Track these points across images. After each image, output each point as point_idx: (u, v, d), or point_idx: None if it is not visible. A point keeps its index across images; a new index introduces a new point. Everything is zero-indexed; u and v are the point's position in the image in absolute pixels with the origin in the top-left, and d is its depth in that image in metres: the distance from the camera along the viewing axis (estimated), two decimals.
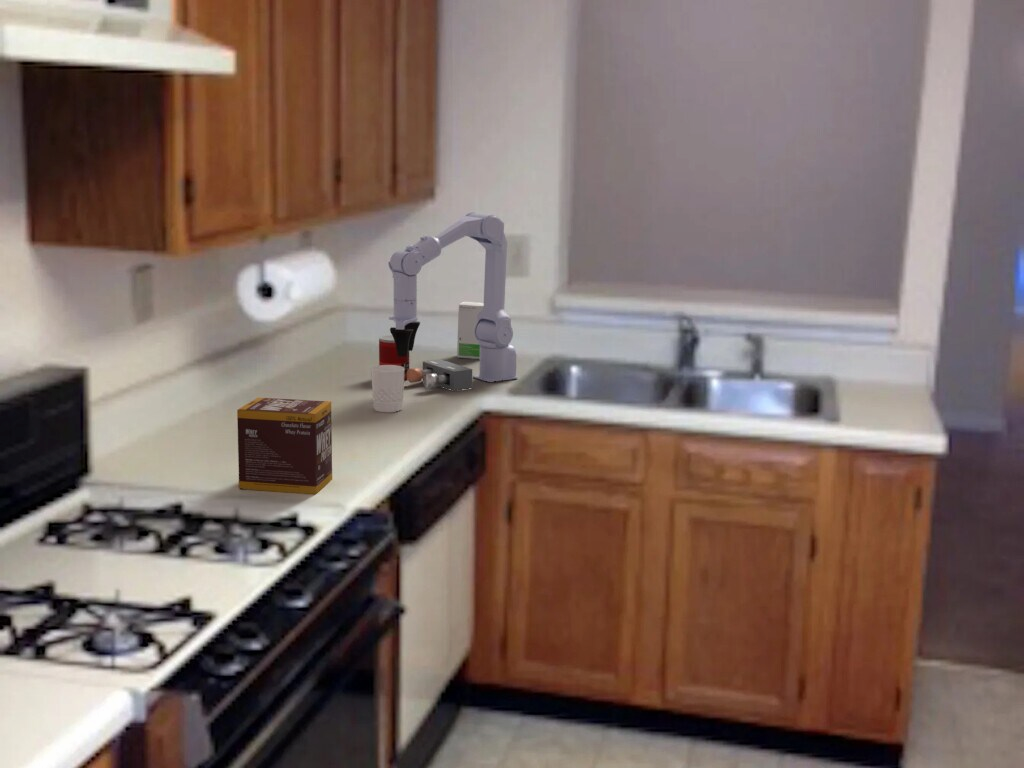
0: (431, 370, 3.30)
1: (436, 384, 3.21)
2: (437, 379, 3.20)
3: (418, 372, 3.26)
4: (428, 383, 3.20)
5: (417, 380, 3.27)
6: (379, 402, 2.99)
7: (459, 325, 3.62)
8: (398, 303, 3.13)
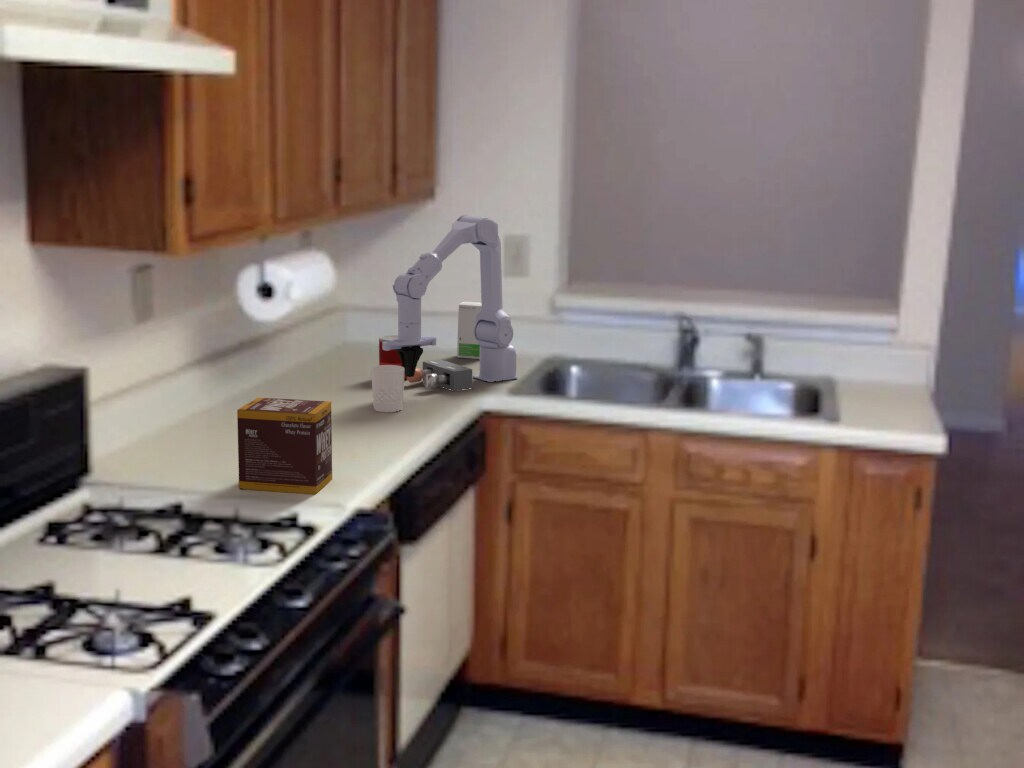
0: (431, 370, 3.30)
1: (436, 384, 3.21)
2: (437, 379, 3.20)
3: (418, 372, 3.26)
4: (428, 383, 3.20)
5: (417, 380, 3.27)
6: (379, 402, 2.99)
7: (459, 325, 3.62)
8: (398, 325, 3.14)
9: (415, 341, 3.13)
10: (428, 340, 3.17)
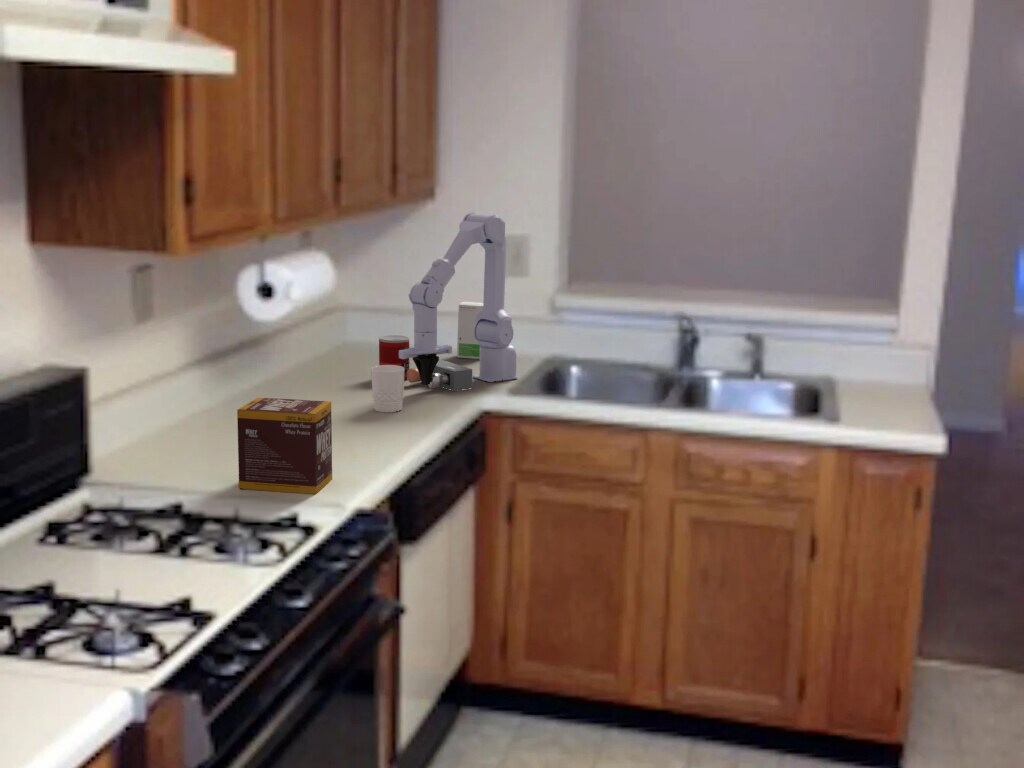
0: None
1: (439, 384, 3.21)
2: (440, 379, 3.21)
3: (418, 372, 3.26)
4: (431, 382, 3.21)
5: (417, 380, 3.27)
6: (379, 402, 2.99)
7: (459, 325, 3.62)
8: (414, 333, 3.17)
9: (431, 349, 3.16)
10: (444, 348, 3.20)
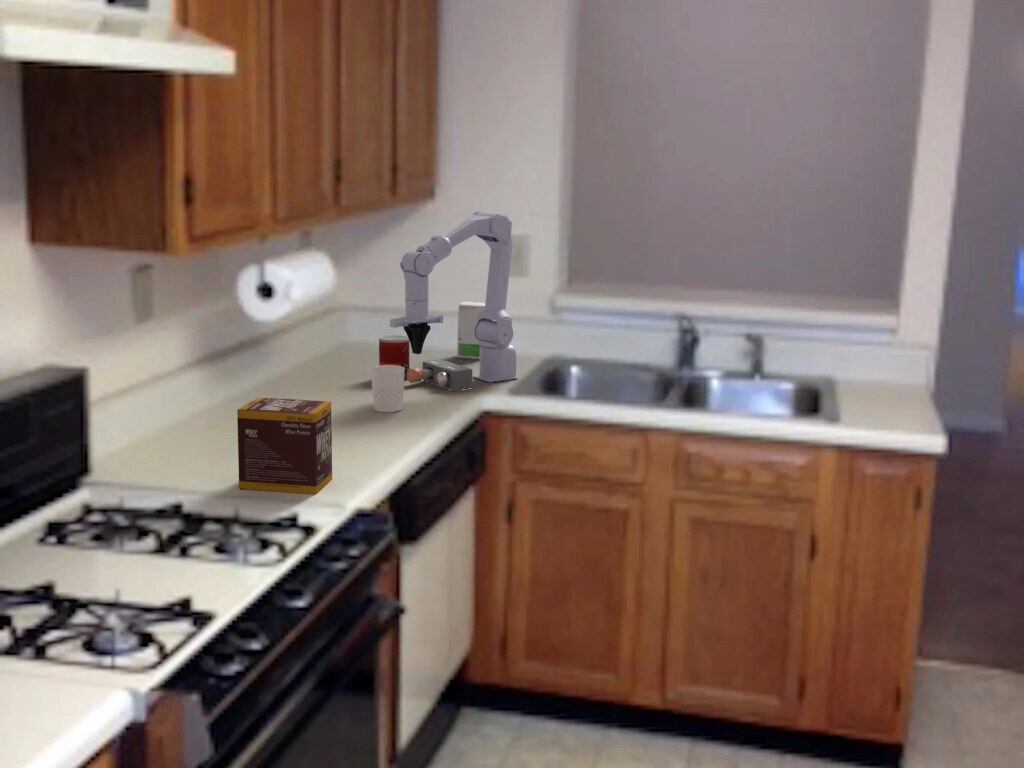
0: (431, 370, 3.30)
1: (448, 382, 3.23)
2: (449, 377, 3.22)
3: (418, 372, 3.26)
4: (439, 381, 3.22)
5: (417, 380, 3.27)
6: (379, 402, 2.99)
7: (459, 325, 3.62)
8: (405, 302, 3.15)
9: (422, 318, 3.14)
10: (435, 317, 3.18)
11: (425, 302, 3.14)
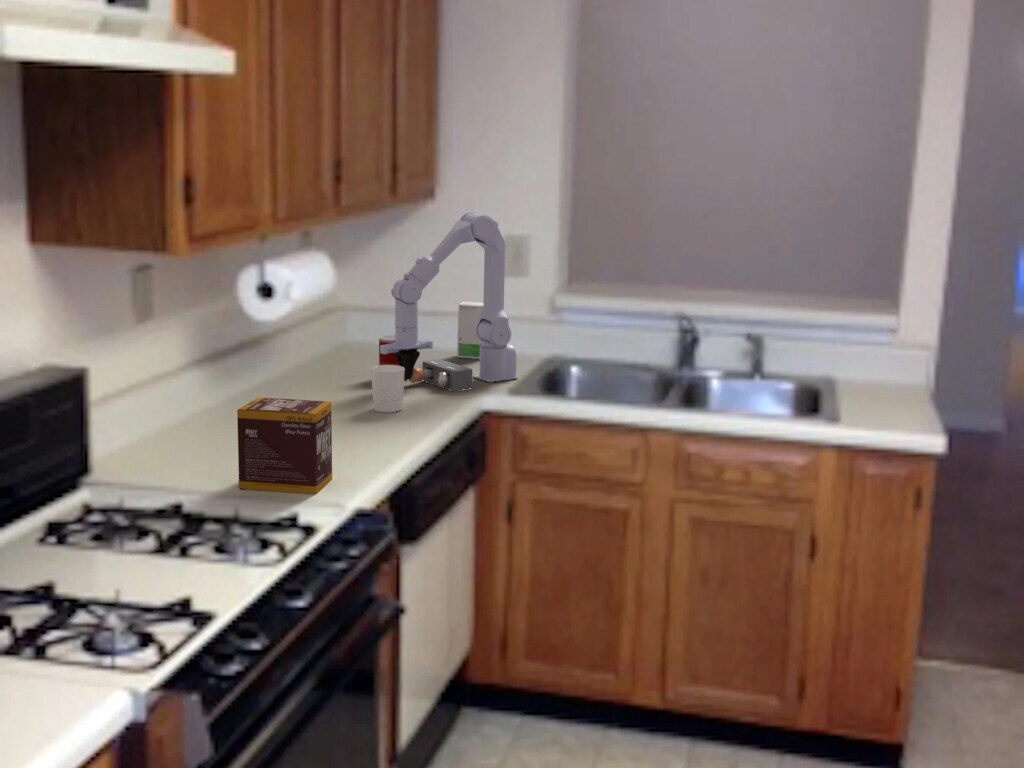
0: (432, 370, 3.30)
1: (448, 382, 3.23)
2: (449, 377, 3.22)
3: (419, 372, 3.27)
4: (439, 381, 3.22)
5: (418, 380, 3.27)
6: (379, 402, 2.99)
7: (459, 325, 3.62)
8: (395, 329, 3.23)
9: (412, 345, 3.22)
10: (425, 343, 3.26)
11: (414, 329, 3.22)
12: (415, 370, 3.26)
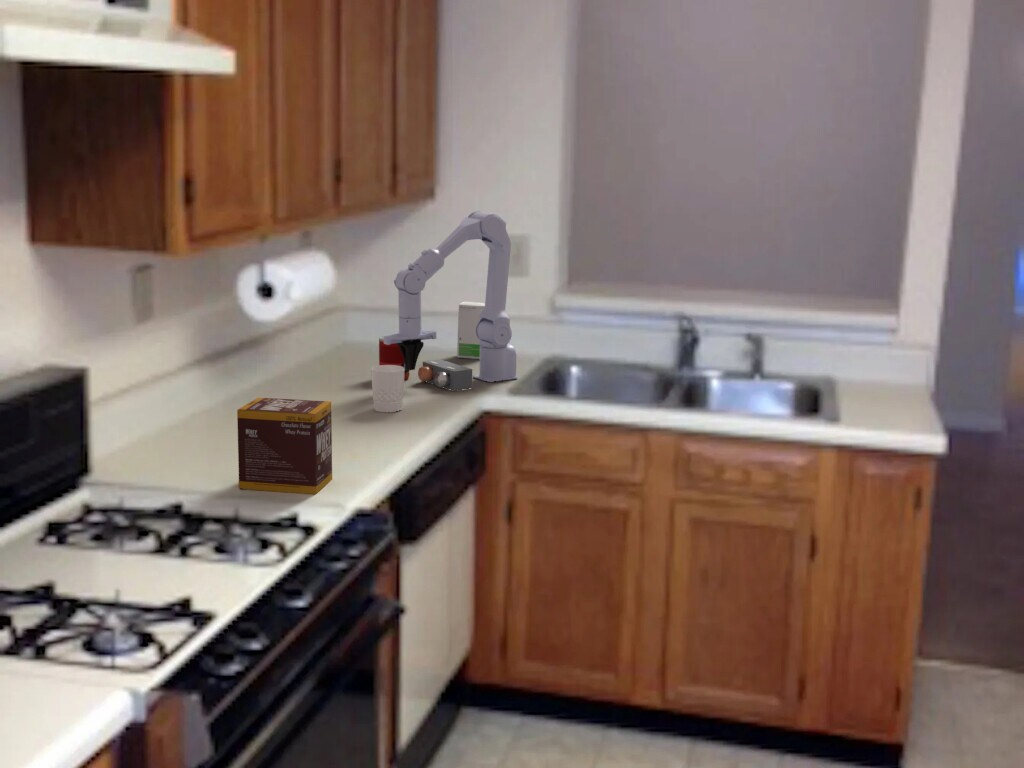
0: None
1: (448, 382, 3.23)
2: (449, 377, 3.22)
3: (430, 371, 3.28)
4: (439, 381, 3.22)
5: (429, 378, 3.29)
6: (379, 402, 2.99)
7: (459, 325, 3.62)
8: (399, 319, 3.22)
9: (415, 335, 3.21)
10: (428, 334, 3.24)
11: (418, 319, 3.20)
12: (426, 369, 3.28)
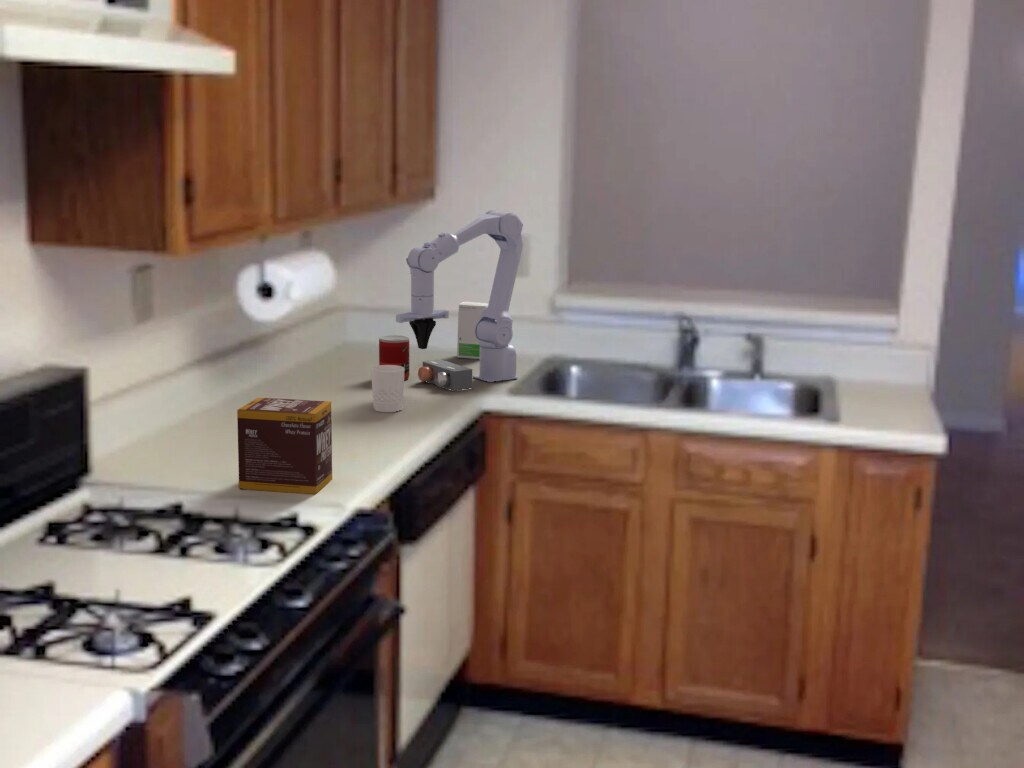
0: None
1: (448, 382, 3.23)
2: (449, 377, 3.22)
3: (430, 371, 3.28)
4: (439, 381, 3.22)
5: (429, 378, 3.29)
6: (379, 402, 2.99)
7: (459, 325, 3.62)
8: (411, 298, 3.19)
9: (428, 313, 3.18)
10: (441, 313, 3.22)
11: (431, 298, 3.18)
12: (426, 369, 3.28)
